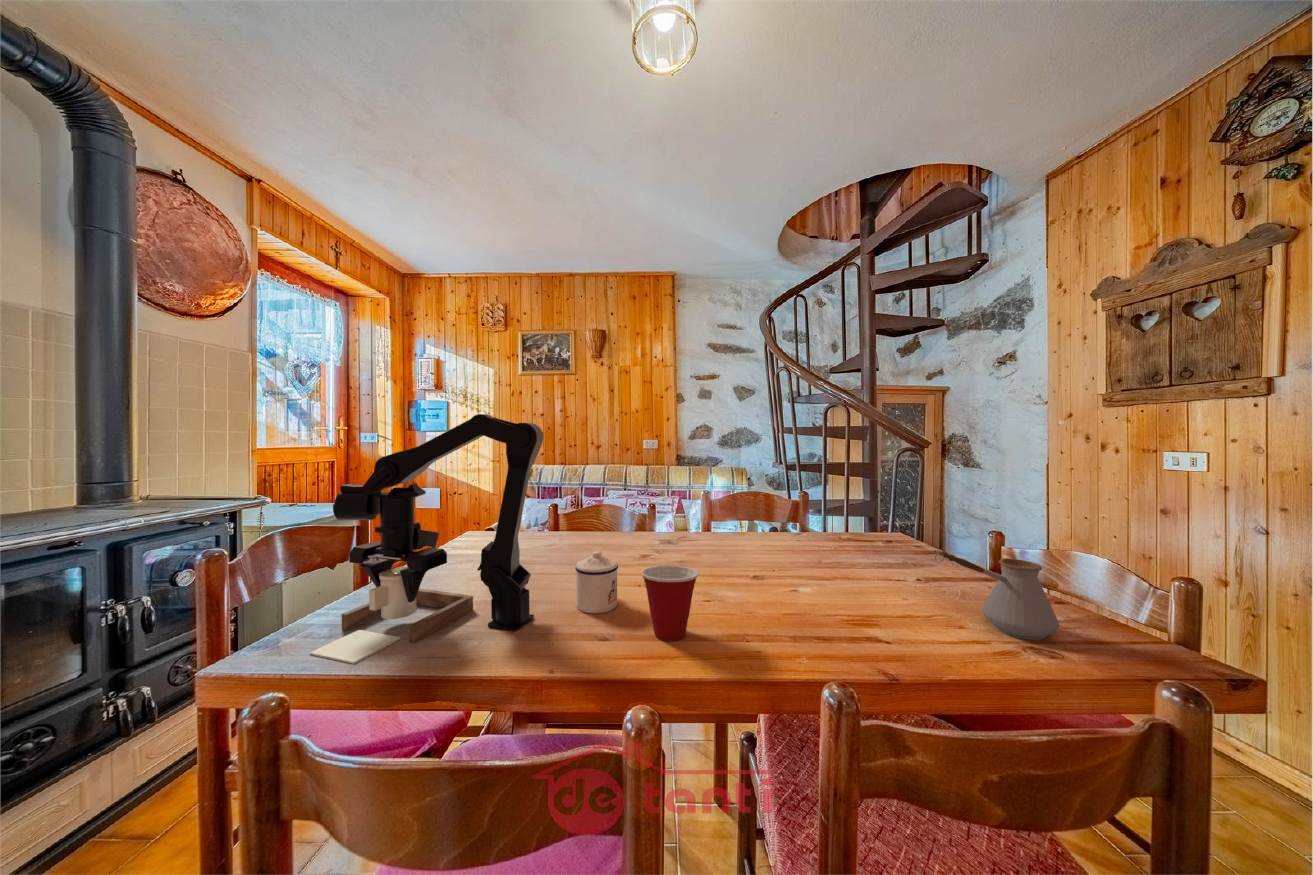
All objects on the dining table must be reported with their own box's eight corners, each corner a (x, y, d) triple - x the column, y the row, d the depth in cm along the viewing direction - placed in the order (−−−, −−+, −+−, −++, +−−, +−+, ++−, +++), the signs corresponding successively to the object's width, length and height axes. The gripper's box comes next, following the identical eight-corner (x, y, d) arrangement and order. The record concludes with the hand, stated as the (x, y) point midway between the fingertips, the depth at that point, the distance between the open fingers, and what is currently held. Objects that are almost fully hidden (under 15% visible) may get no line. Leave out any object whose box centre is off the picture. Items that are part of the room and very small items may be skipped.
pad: (400, 638, 82) (400, 637, 82) (353, 663, 74) (353, 662, 74) (359, 631, 85) (358, 629, 85) (309, 654, 77) (309, 652, 77)
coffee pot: (1024, 618, 92) (1026, 544, 91) (1076, 645, 80) (1079, 561, 80) (918, 617, 92) (919, 543, 91) (955, 644, 80) (956, 561, 80)
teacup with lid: (617, 614, 93) (617, 558, 93) (573, 615, 92) (573, 558, 92) (618, 592, 105) (618, 542, 105) (579, 593, 104) (578, 543, 104)
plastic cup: (697, 621, 90) (697, 561, 89) (700, 648, 79) (701, 580, 79) (642, 620, 90) (642, 560, 90) (638, 647, 79) (638, 579, 79)
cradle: (473, 609, 95) (473, 595, 95) (414, 643, 81) (414, 626, 80) (408, 600, 100) (407, 586, 100) (341, 629, 86) (341, 614, 86)
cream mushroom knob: (400, 604, 92) (399, 565, 92) (425, 608, 90) (424, 568, 90) (359, 622, 83) (358, 579, 83) (385, 627, 81) (385, 583, 81)
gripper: (466, 514, 92) (467, 590, 92) (396, 509, 98) (397, 580, 98) (423, 526, 81) (424, 612, 82) (346, 519, 87) (348, 599, 88)
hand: (398, 599), depth 88 cm, fingers closed on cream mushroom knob, 6 cm apart
